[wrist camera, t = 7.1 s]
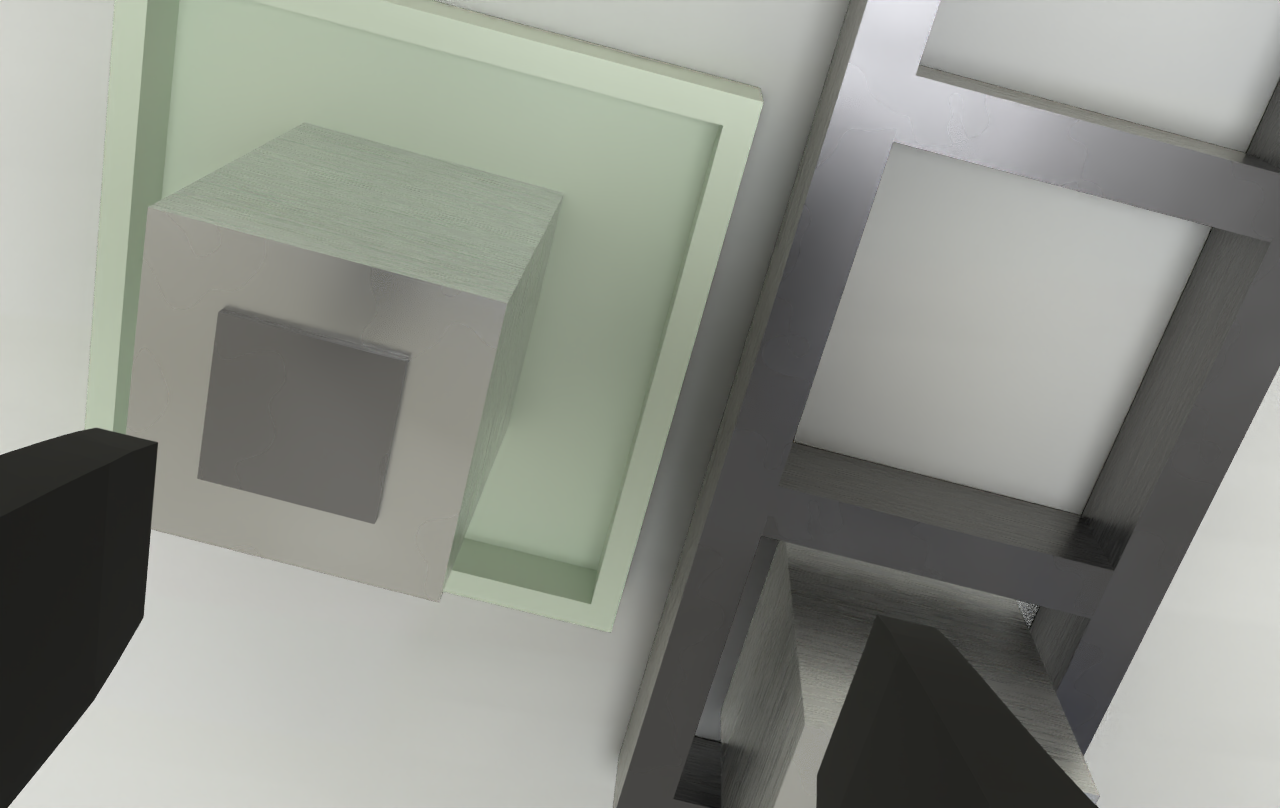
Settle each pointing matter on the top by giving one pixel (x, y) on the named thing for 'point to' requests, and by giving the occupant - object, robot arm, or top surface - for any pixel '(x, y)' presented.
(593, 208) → the parts tray
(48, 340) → the top surface
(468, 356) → the grey box
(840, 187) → the rack frame
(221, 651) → the top surface
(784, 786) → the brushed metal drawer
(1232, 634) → the top surface
